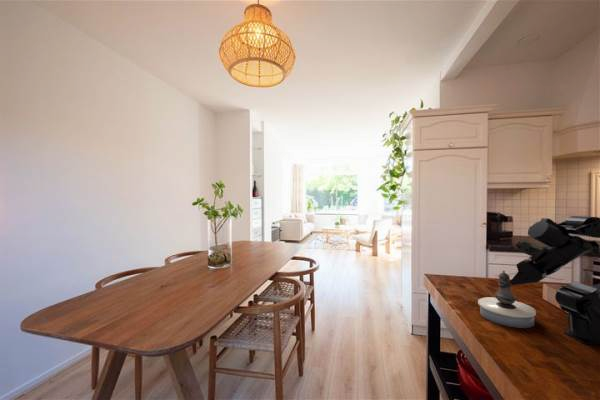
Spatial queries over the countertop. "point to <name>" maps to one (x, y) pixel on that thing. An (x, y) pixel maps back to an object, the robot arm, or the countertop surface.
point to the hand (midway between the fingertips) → (516, 281)
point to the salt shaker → (505, 292)
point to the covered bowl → (507, 313)
